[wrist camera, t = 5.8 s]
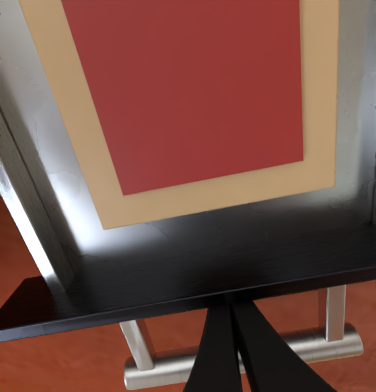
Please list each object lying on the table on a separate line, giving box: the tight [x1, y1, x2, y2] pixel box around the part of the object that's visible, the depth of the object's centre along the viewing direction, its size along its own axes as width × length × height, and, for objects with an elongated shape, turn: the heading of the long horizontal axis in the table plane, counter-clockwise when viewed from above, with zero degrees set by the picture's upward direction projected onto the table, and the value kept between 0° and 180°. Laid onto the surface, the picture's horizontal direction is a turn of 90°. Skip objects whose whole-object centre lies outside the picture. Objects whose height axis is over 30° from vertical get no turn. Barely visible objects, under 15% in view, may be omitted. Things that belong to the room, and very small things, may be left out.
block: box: [18, 0, 340, 230], centre depth 6 cm, size 6×5×4 cm
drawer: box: [0, 0, 376, 390], centre depth 8 cm, size 18×17×3 cm
